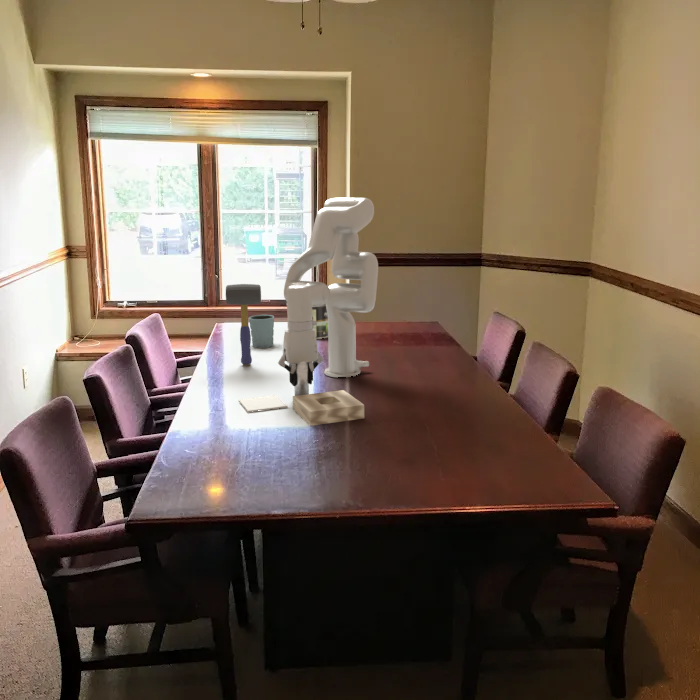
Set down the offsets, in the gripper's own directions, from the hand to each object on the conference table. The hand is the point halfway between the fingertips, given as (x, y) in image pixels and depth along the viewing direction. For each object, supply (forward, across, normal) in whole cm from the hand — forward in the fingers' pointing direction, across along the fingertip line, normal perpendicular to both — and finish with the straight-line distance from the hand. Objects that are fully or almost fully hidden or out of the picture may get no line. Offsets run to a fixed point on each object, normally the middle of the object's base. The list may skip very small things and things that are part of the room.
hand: (301, 383), depth 218 cm
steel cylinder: (+5, 0, 0) cm, 5 cm away
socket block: (+5, -2, +18) cm, 19 cm away
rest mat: (+5, +13, +2) cm, 14 cm away
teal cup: (+5, -8, -77) cm, 78 cm away
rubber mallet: (+5, +6, -47) cm, 48 cm away
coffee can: (+5, -34, -84) cm, 91 cm away
